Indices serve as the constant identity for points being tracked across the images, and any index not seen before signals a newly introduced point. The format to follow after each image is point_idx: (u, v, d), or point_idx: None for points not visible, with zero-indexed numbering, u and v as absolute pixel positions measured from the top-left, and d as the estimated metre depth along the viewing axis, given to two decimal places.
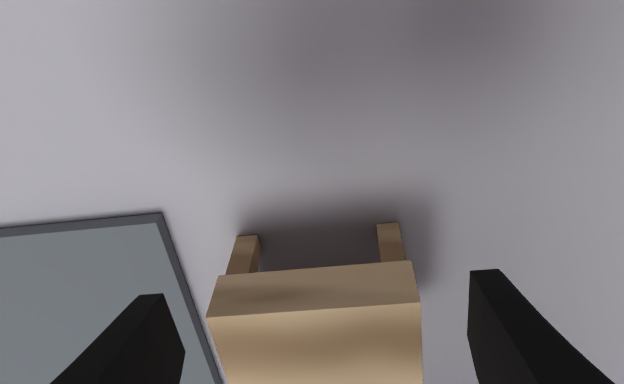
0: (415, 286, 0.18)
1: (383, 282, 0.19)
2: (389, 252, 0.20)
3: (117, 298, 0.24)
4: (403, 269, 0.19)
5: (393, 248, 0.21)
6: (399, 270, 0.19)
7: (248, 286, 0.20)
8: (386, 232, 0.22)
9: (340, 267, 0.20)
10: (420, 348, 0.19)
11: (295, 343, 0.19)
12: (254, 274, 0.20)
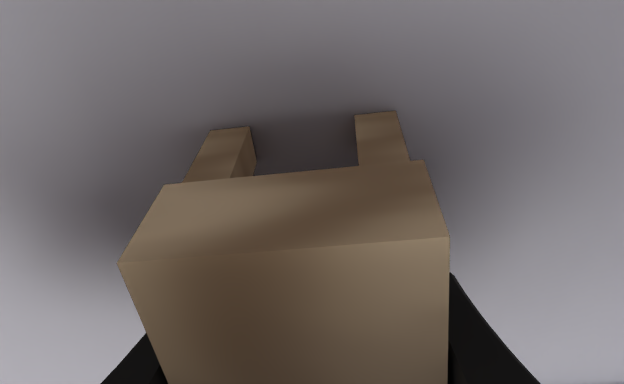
0: (136, 234, 0.08)
1: None
2: None
3: None
4: None
5: None
6: None
7: None
8: None
9: None
10: (272, 253, 0.07)
11: None
12: None
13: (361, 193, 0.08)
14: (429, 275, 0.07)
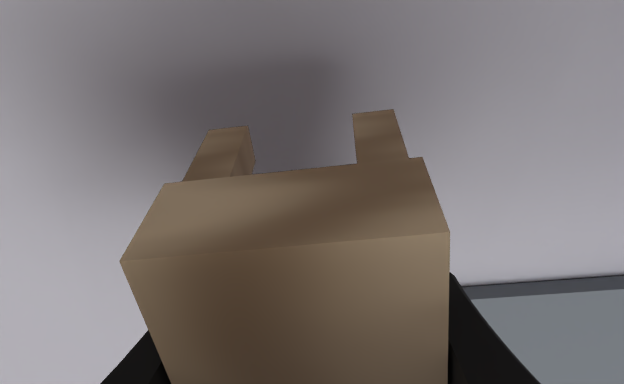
0: (137, 233, 0.08)
1: None
2: None
3: None
4: None
5: None
6: None
7: None
8: None
9: None
10: (275, 249, 0.07)
11: None
12: None
13: (361, 190, 0.08)
14: (430, 270, 0.07)
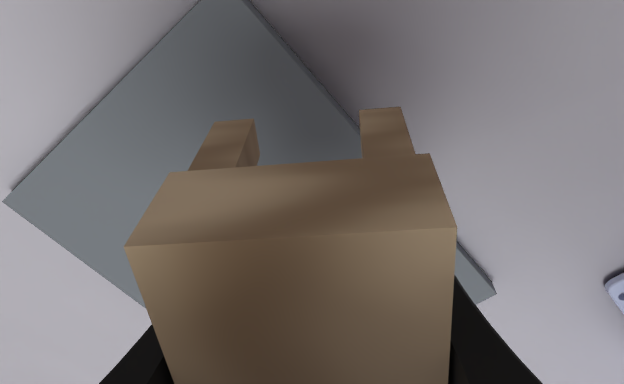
0: (142, 219, 0.08)
1: None
2: None
3: None
4: None
5: None
6: None
7: None
8: None
9: None
10: (280, 239, 0.07)
11: None
12: None
13: (368, 184, 0.08)
14: (435, 265, 0.07)
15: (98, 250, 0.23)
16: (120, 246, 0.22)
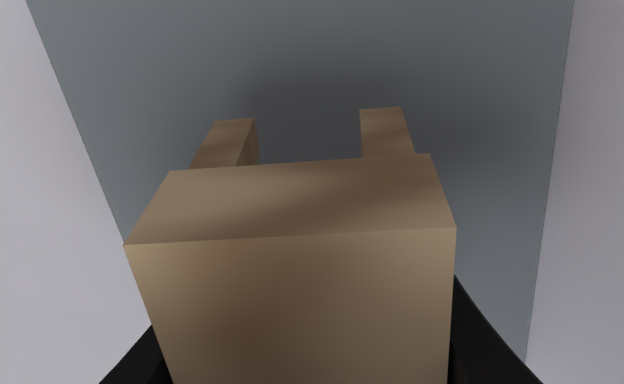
0: (141, 218, 0.08)
1: None
2: None
3: (438, 42, 0.13)
4: None
5: None
6: None
7: None
8: None
9: None
10: (279, 239, 0.07)
11: None
12: None
13: (368, 183, 0.08)
14: (434, 265, 0.07)
15: (100, 87, 0.14)
16: (139, 100, 0.14)
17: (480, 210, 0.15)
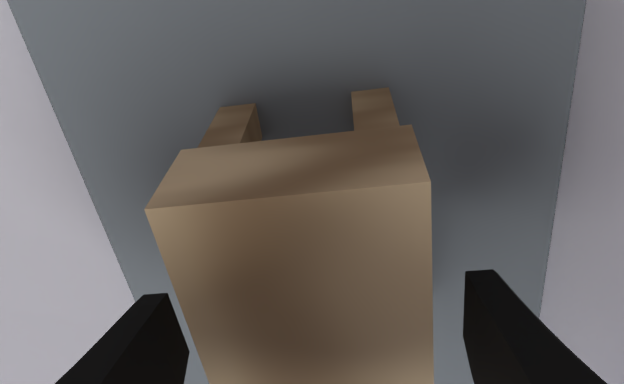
0: (158, 188, 0.09)
1: None
2: None
3: (442, 48, 0.12)
4: None
5: None
6: None
7: None
8: None
9: None
10: (279, 198, 0.08)
11: (284, 382, 0.11)
12: None
13: (356, 151, 0.09)
14: (414, 217, 0.08)
15: (88, 95, 0.13)
16: (129, 109, 0.13)
17: (485, 222, 0.15)
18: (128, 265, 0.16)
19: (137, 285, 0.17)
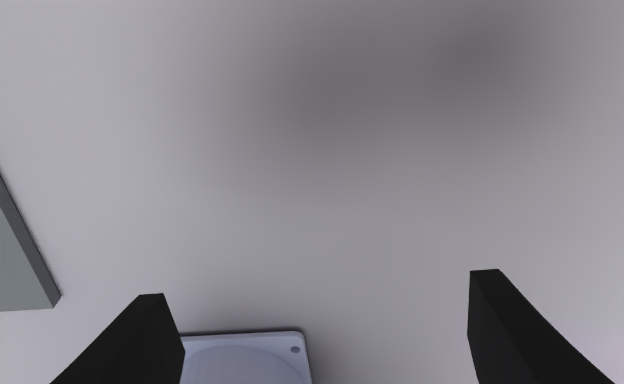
0: None
1: None
2: None
3: None
4: None
5: None
6: None
7: None
8: None
9: None
10: None
11: None
12: None
13: None
14: None
15: None
16: None
17: None
18: None
19: None
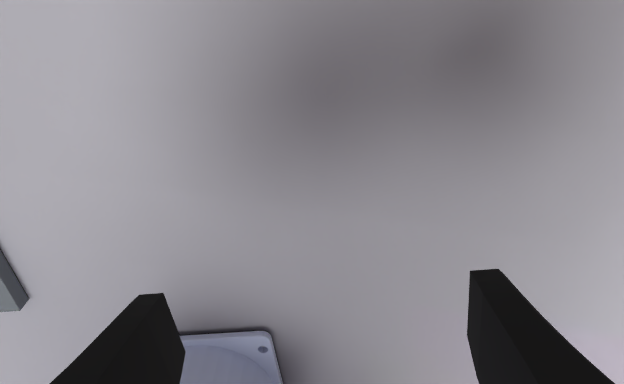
0: None
1: None
2: None
3: None
4: None
5: None
6: None
7: None
8: None
9: None
10: None
11: None
12: None
13: None
14: None
15: None
16: None
17: None
18: None
19: None
